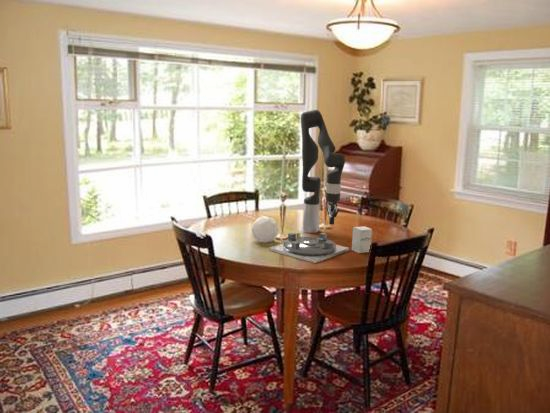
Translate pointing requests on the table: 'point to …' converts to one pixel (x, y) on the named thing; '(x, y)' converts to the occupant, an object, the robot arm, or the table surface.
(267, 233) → the white ball
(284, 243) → the grey flat round piece
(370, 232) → the supplement box
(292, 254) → the base plate
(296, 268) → the table surface
